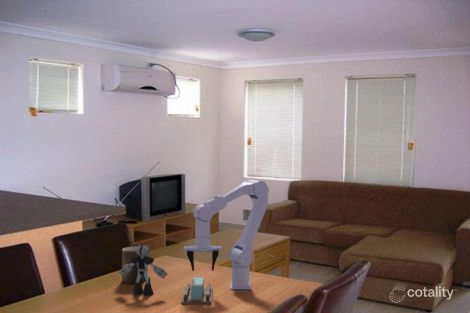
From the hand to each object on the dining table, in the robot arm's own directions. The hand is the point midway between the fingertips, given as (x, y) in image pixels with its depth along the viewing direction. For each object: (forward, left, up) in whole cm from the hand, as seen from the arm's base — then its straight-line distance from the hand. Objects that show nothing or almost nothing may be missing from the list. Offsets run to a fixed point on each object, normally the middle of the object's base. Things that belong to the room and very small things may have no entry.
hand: (203, 270), depth 196 cm
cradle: (+6, -2, -9) cm, 11 cm away
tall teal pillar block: (+6, -2, -8) cm, 10 cm away
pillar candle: (-15, -30, -9) cm, 35 cm away
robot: (+2, -23, -9) cm, 25 cm away
